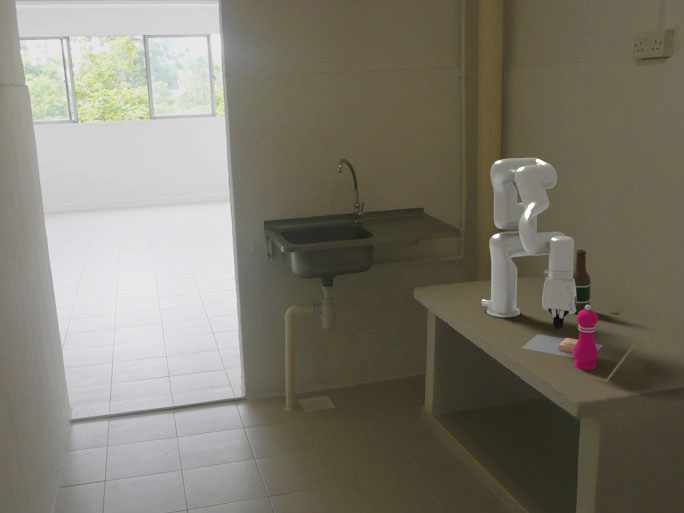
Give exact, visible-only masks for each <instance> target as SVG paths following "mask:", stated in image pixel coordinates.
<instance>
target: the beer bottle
mask: <svg viewBox="0 0 684 513" xmlns="http://www.w3.org/2000/svg"><path fill="white" fill-rule="evenodd" d="M575 253H576V257H575V258H576V259H575V266H574V269H573V279H574V280H575V285H576V307H575V308H576V312H575V313H576V315H578V313H579V312H580V311H581V310H584V309H585V306H586V305H590V301H591V299H590V298H591V277H590V275H589V274H588V272H587V265H586V264H587V263H586V261H587V260H586V259H587V258H586V255H587V250H584V249H578V250H576V252H575ZM575 313H574V314H575Z"/></svg>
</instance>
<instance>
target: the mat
mask: <svg viewBox="0 0 684 513" xmlns="http://www.w3.org/2000/svg"><path fill="white" fill-rule="evenodd" d="M564 339H565V338H564V337H563V338H562V337H555V336H551V335H545V334H539V333H538V334H536V335H535V336H534V337H532V339H530V340H529V341H528V342H526V344H524V345H523V346H522V347H521V349H524V350H529V351H534V352H540V353H545V354H550V355H556V356H561V357H562V356H563V357H566V358H573V359H575V358H574V356H573V353H571V352H565V351H560V350H559V344H560V343H561V342H562V341H563V340H564ZM595 345H596V347H597V350H598V351H600V350H601V348H602V347H603V346H604V345H603V344H598V343H595Z"/></svg>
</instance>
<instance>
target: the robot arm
mask: <svg viewBox="0 0 684 513" xmlns="http://www.w3.org/2000/svg"><path fill="white" fill-rule="evenodd" d="M490 181H491V185H492V188H493V224H494V225H495V227H496V228H497V229H501V230H511V229H512V230H513V229H518V231H504V232H503V231H502V232H498V233H495V234H493V235H492V236H491V237H490V238H489V243H488V245H489V252H490V261H491V280H490V281H491V282H490V284H491V286H490V299H489V300H487V299H481V306H483V307H488V308H486V314H487V315H489V316H492V317H495V318H506V319H508V318H515V317H517V316H519V315H520V314H521V310H520V309H519V308H518V307H517V290H518V288H517V285H518V268H517V266H516V264H515V262H514V261H513V260H512V258H515V257H516V258H517V257H527V256H532V257H533V256H534V257H537V256H538V257H539V256H546V255H548V268H545V269H544V271H543V273H544V274H546V275H547V276H546V277H545V278H544V284H543V289H542V290H543V291H542V296H541V297H542V298H541V305H542V306H541V307H542V309H543V310H545V311H547V312H549V313H550V314H551V316H552V318H553V319H552V320H553V323H552V326H554V330H557V331H561V329H562V328H564V325H565V316H567V315H572V314H573V315H575V312H576V308H575V307H576V285H575V280H574V279H573V272H574V255H575V251H574V250H575V240H574V238H572V237H571V236H568V235H567V236H566V235H565V234H564V233H563V232H561V231H542V232H538V231H537V229H538V215H540V214H541V213H543V212H544V211H546V210H547V209H548V208H549V206H550V200H549V197H548V195H547V191H546V189H553V188H554V187H555V186H556V184H557V183H558V174H557V171H556V169H555V168H554V166H553V165H552V164H550V163H548V162H546V161H544V160H542V159H540V158H538V157H521V158H520V157H519V158H517V157H515V158H514V157H513V158H502V159H499V160H496V161H494V162H493V163H492V165H491V168H490ZM514 182H515V184H516V186H515V185H514ZM518 194H519V196H520V199H521V202H518Z"/></svg>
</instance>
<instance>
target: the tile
mask: <svg viewBox="0 0 684 513" xmlns="http://www.w3.org/2000/svg"><path fill="white" fill-rule="evenodd" d="M563 339H564V340H563V341H562V342H561V343H560V344H559V350H560V351H565V352H571V353H573V350H574V347H575V345H576V344H577V342H578V339H579V338H577V339H576V338H571V337H565V338H563Z"/></svg>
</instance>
